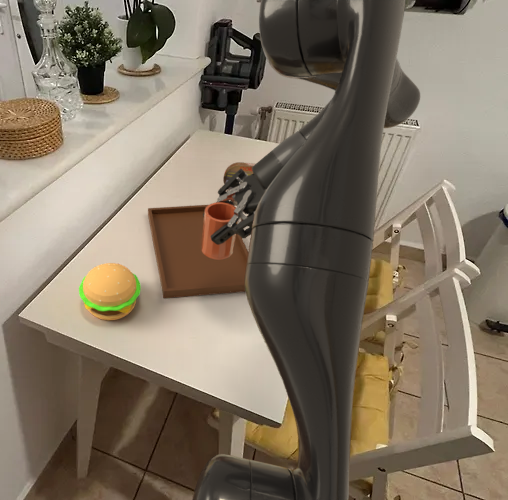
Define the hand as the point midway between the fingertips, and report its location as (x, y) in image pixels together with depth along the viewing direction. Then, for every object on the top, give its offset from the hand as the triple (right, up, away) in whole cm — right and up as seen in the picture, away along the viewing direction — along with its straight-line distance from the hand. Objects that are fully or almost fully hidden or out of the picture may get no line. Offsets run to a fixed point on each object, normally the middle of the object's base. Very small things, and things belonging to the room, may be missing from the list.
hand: (210, 229), depth 76 cm
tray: (0, -3, +25) cm, 25 cm away
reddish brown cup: (+2, -3, +3) cm, 5 cm away
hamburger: (-19, -15, +11) cm, 26 cm away
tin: (+16, +13, +44) cm, 49 cm away
